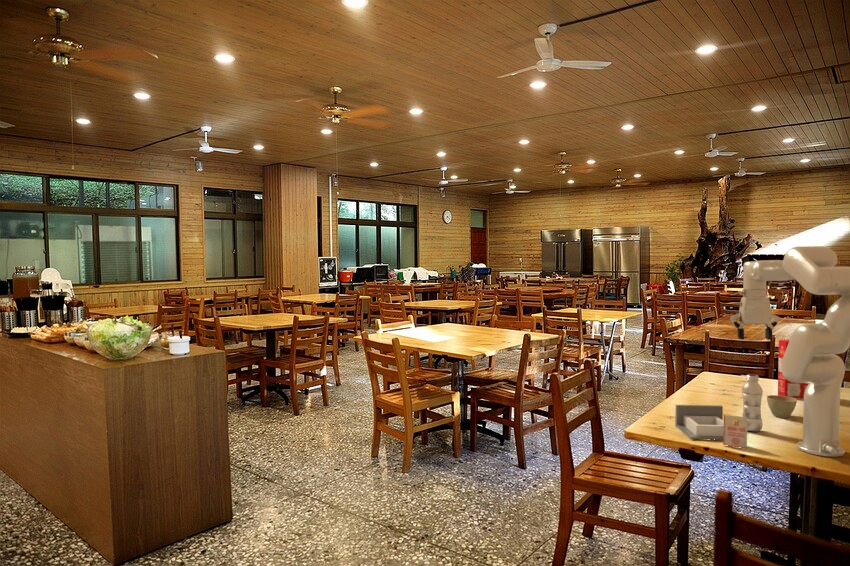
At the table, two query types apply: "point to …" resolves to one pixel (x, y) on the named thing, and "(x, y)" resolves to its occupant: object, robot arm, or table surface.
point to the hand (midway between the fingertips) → (754, 339)
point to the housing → (700, 421)
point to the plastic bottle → (752, 403)
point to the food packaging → (783, 384)
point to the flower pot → (781, 405)
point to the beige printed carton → (735, 431)
